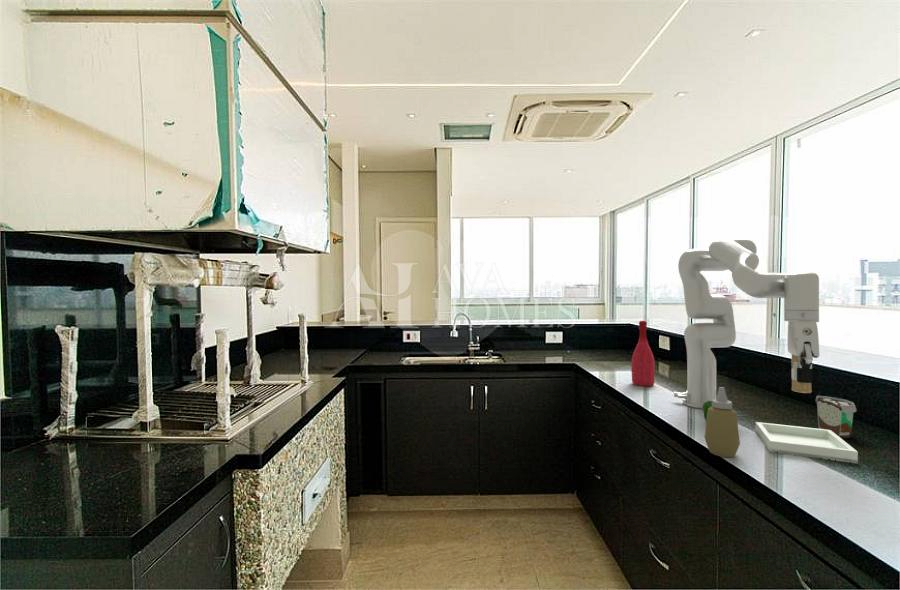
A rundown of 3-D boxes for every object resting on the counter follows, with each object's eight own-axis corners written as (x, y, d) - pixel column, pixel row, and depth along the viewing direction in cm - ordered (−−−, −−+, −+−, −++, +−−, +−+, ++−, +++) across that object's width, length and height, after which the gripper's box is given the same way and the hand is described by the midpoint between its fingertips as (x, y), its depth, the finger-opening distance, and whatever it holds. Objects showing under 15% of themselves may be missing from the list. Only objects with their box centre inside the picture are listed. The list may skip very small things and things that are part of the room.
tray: (770, 451, 113) (770, 440, 113) (755, 431, 129) (755, 421, 129) (857, 463, 105) (857, 451, 105) (830, 440, 121) (830, 430, 121)
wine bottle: (658, 386, 189) (658, 321, 188) (637, 386, 189) (636, 321, 189) (648, 382, 199) (648, 319, 198) (628, 382, 199) (627, 320, 198)
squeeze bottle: (697, 448, 116) (697, 384, 115) (724, 447, 116) (724, 383, 116) (718, 460, 107) (718, 391, 107) (747, 459, 108) (747, 390, 108)
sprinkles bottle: (795, 389, 120) (795, 342, 120) (815, 392, 116) (815, 344, 116) (788, 391, 118) (788, 344, 117) (808, 394, 114) (808, 345, 113)
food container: (868, 441, 120) (868, 406, 120) (843, 439, 121) (843, 405, 121) (837, 427, 132) (837, 396, 132) (815, 426, 133) (815, 395, 133)
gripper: (830, 318, 107) (830, 388, 107) (808, 314, 122) (808, 376, 123) (793, 317, 111) (793, 385, 111) (776, 314, 126) (776, 374, 126)
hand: (801, 379), depth 117 cm, fingers closed on sprinkles bottle, 4 cm apart
